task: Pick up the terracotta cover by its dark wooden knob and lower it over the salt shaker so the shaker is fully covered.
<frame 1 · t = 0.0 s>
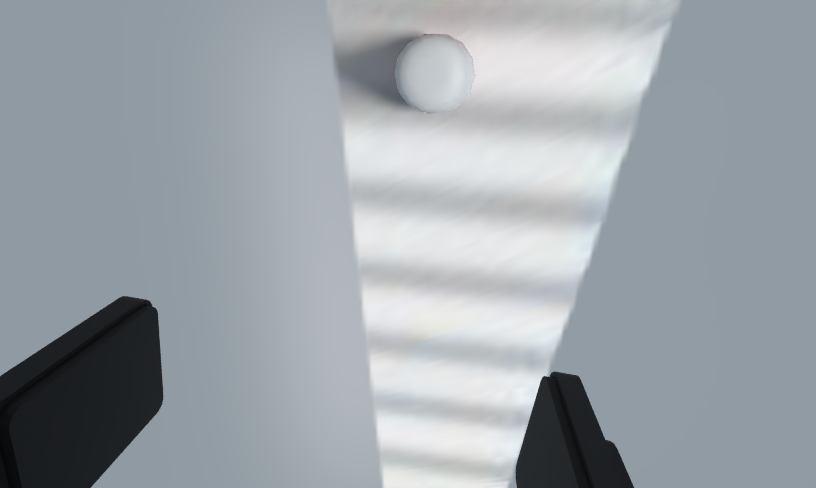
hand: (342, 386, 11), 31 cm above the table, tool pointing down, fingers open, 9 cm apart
salt shaker: (438, 75, 38), on the table
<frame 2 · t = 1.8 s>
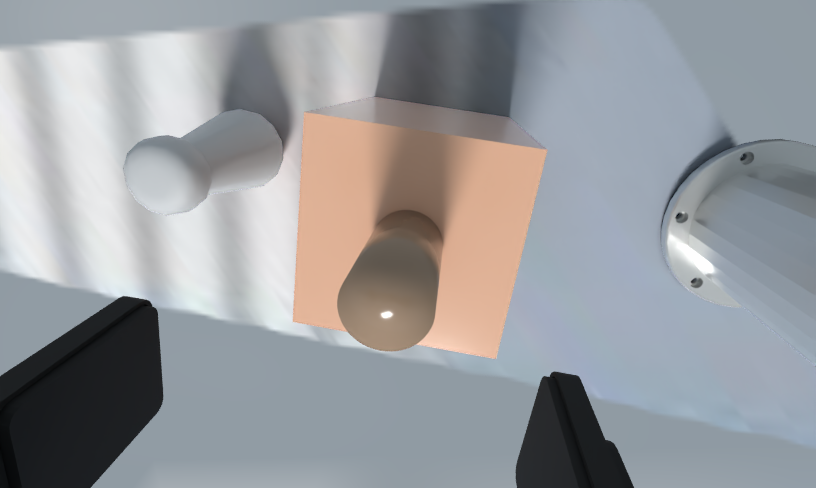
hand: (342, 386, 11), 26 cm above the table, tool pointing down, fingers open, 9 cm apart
cover: (430, 173, 35), on the table
salt shaker: (258, 145, 36), on the table
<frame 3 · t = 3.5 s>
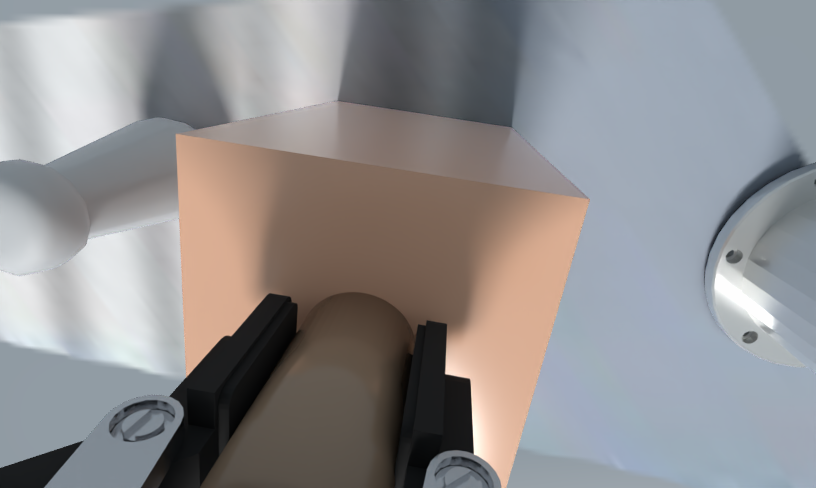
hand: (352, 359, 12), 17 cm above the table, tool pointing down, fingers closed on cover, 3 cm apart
cover: (411, 198, 28), on the table, touching gripper
salt shaker: (192, 162, 28), on the table
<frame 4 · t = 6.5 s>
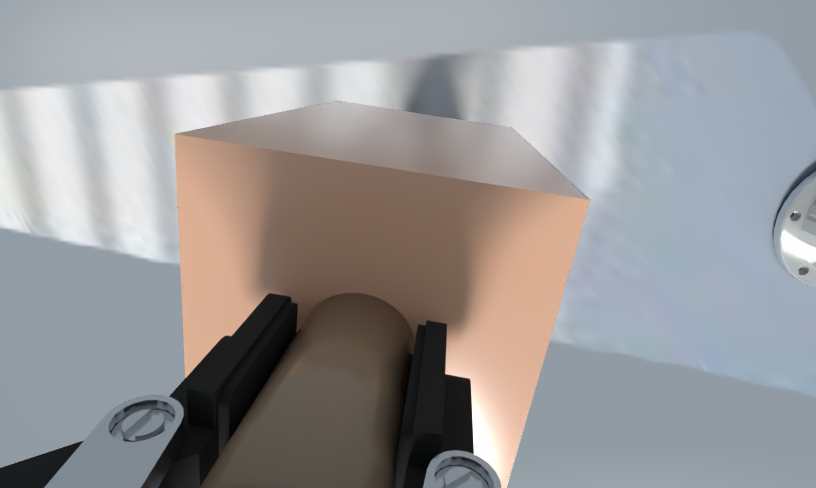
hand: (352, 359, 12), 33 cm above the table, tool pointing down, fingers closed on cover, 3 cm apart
cover: (411, 199, 27), point 16 cm above the table, touching gripper
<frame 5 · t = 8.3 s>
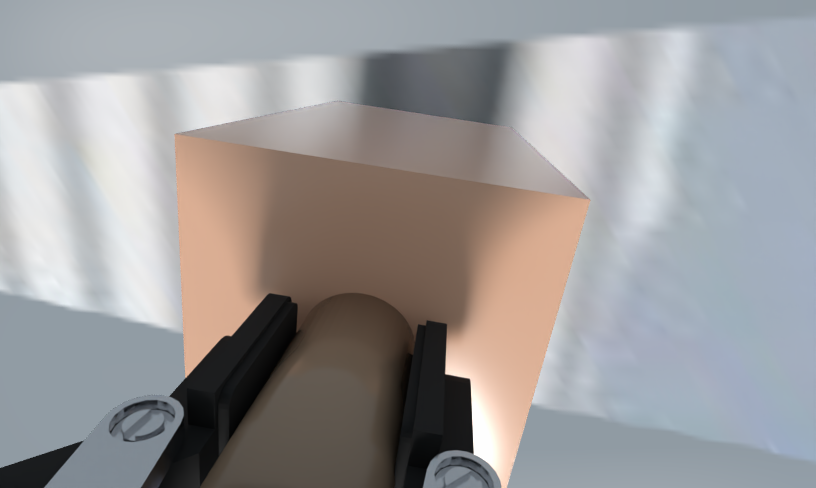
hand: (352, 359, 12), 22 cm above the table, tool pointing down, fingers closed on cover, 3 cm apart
cover: (411, 199, 27), point 5 cm above the table, touching gripper
when the fingers open (18 cm above the table, at t = 9.6 s): cover stays where it is, on the table.
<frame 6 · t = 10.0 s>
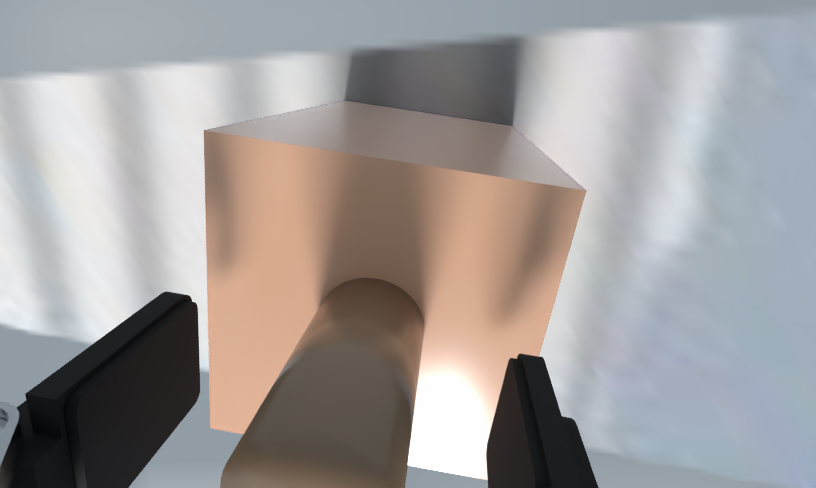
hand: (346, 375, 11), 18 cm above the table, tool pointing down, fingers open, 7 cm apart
cover: (415, 195, 28), on the table
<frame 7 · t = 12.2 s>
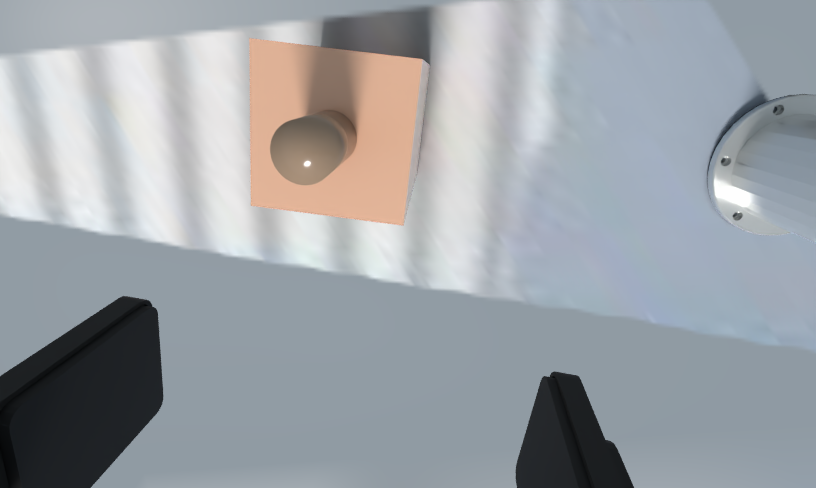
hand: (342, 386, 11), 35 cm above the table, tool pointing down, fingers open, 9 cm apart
cover: (370, 115, 43), on the table
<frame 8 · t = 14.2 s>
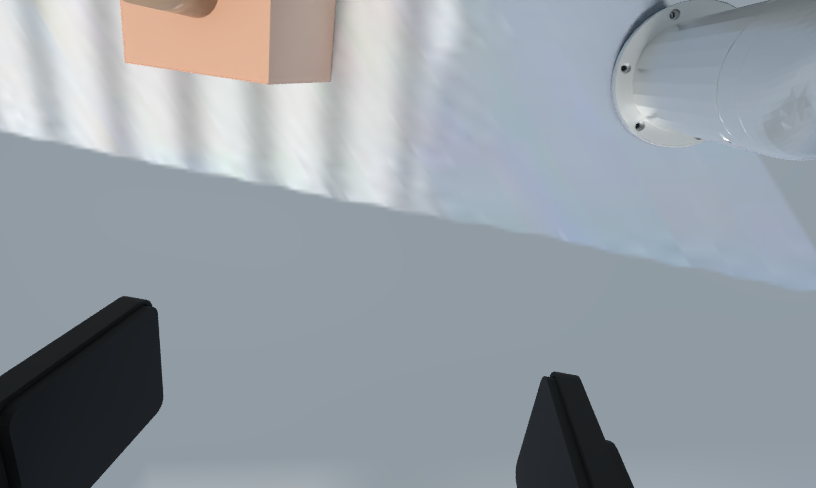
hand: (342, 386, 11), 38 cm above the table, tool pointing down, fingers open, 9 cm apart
cover: (283, 19, 44), on the table
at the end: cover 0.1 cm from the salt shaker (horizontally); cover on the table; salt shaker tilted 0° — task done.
